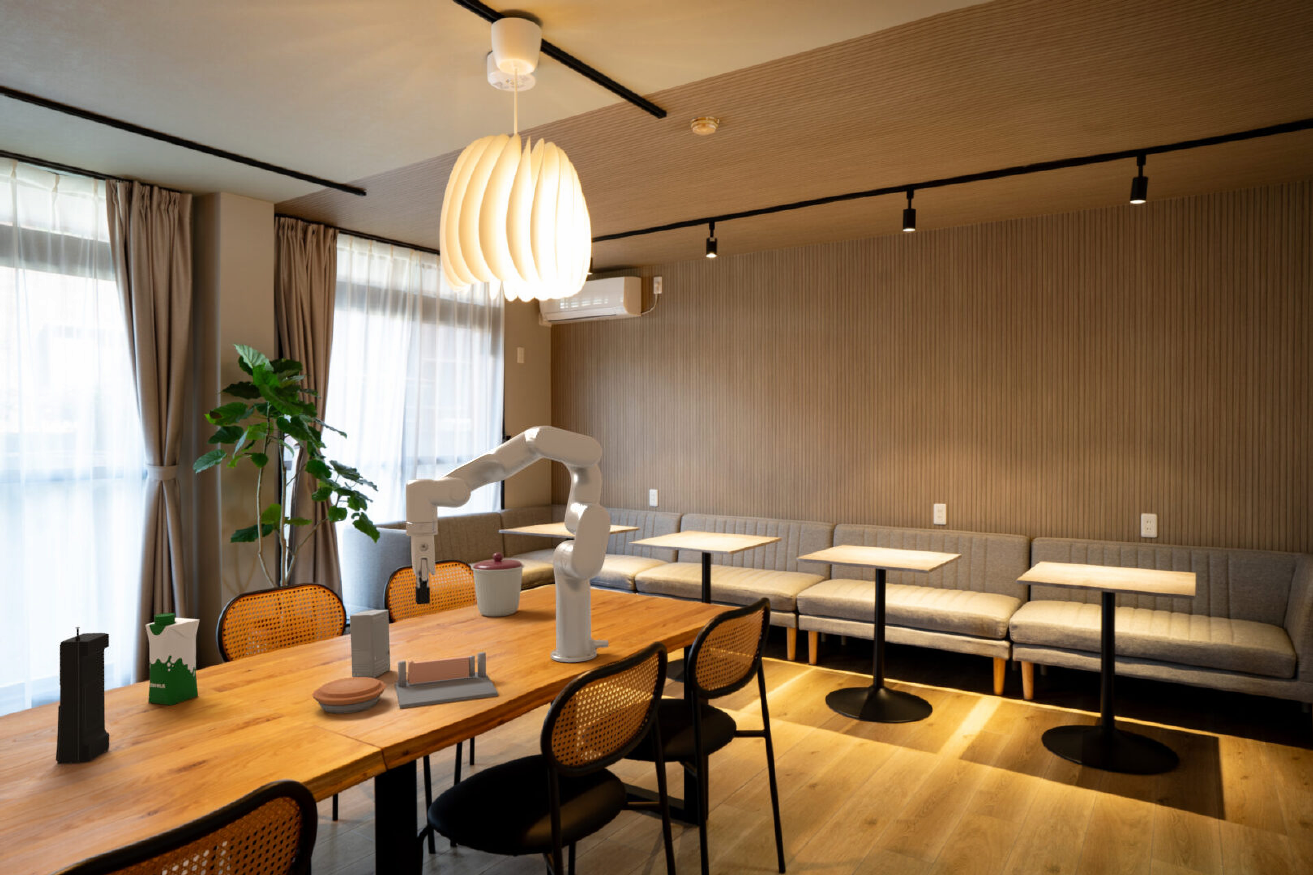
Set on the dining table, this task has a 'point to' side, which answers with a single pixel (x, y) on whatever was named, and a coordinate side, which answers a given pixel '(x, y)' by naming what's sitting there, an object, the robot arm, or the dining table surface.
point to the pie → (349, 694)
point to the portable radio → (82, 699)
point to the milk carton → (172, 659)
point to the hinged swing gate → (444, 687)
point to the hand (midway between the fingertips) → (422, 602)
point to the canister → (498, 585)
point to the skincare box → (370, 643)
